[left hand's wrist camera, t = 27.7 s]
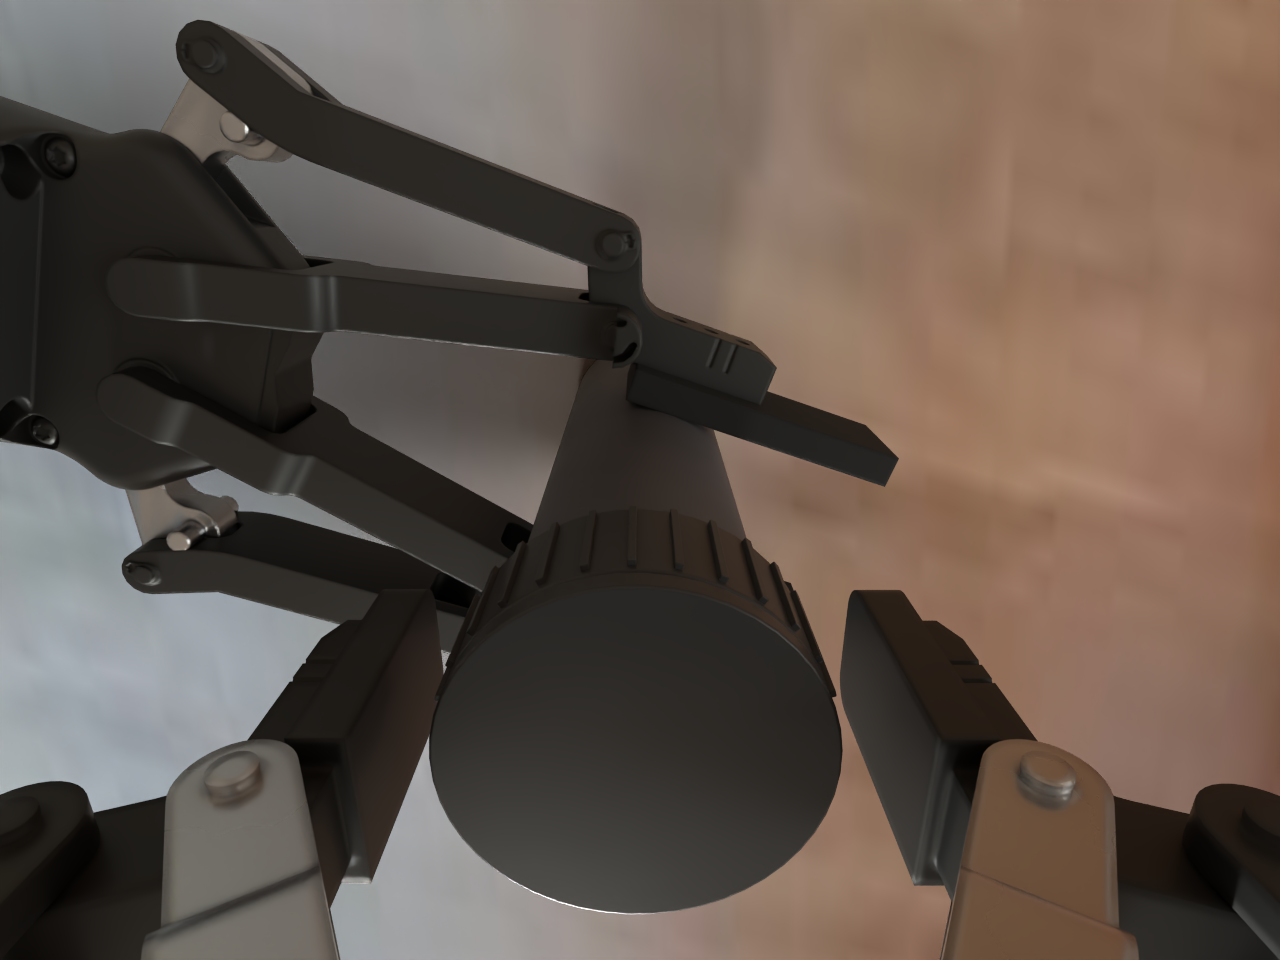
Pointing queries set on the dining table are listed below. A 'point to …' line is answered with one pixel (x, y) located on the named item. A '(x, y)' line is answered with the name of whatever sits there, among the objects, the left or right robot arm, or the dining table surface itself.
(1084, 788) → the left robot arm
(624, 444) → the jar
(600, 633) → the lid
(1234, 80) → the dining table surface
